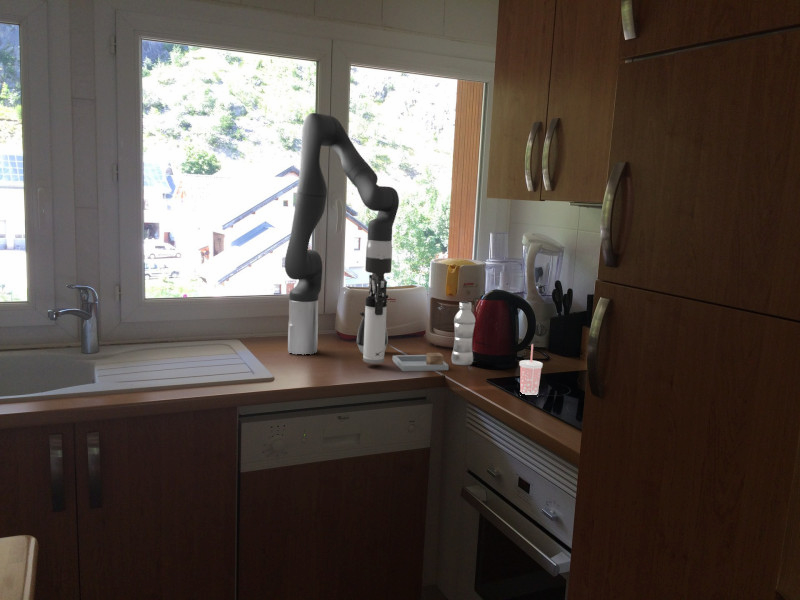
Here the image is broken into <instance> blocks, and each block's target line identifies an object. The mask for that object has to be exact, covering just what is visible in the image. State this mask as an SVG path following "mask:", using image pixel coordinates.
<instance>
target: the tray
mask: <svg viewBox="0 0 800 600" xmlns="http://www.w3.org/2000/svg"><path fill="white" fill-rule="evenodd" d="M426 359H427V354H414V355H413V354H412V355H411V354H410V355H404V354H403V355H398V354H397V355H392V362H393V363H394V364H395V365H396V366H397V367H398V368H399V370H401V371H402V372H430V371H431V372H432V371H436V372H437V371H449V364H448V363H447V362H446V361H444V360H443V364H438V365H426Z"/></svg>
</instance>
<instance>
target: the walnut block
mask: <svg viewBox="0 0 800 600" xmlns="http://www.w3.org/2000/svg"><path fill="white" fill-rule="evenodd" d="M426 355H427V359H426V365H438V364H443V361H444V355H443V354H442V353H440V352H426Z"/></svg>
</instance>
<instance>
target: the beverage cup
mask: <svg viewBox="0 0 800 600" xmlns="http://www.w3.org/2000/svg"><path fill="white" fill-rule="evenodd" d="M530 349H531V350H530V359H524V360H520V361H519V367H520V372H519V373H520V375H519V376H520V377H519V378H520V379H519V381H520V382H519V383H520V384H519V385H520V390H519V392H521V393H522V394H525V395H537V394H538V395H539V386H540V380H541V373H542V368H543V365H544V364H543V362H541V361H537V360H533V356H534V355H533V354H534V343H532V344H531V347H530Z"/></svg>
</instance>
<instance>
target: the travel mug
mask: <svg viewBox="0 0 800 600" xmlns="http://www.w3.org/2000/svg"><path fill="white" fill-rule="evenodd" d="M379 297H382V296H381V295H379ZM388 298H389V294H386V301H384V302H383V314H382V315H376V314H375V296H370V295H369V296H367V297H365V306H364V307H365V309H364V313H365V327H364V349H363V353H362V355H363V356H362V361H363V362H365V363H368V364H373V365H374V364H382V363H384V362H385V352H386V349H385V332H386V329H387V308H388V307H387V303H388V301H387V300H388Z"/></svg>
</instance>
